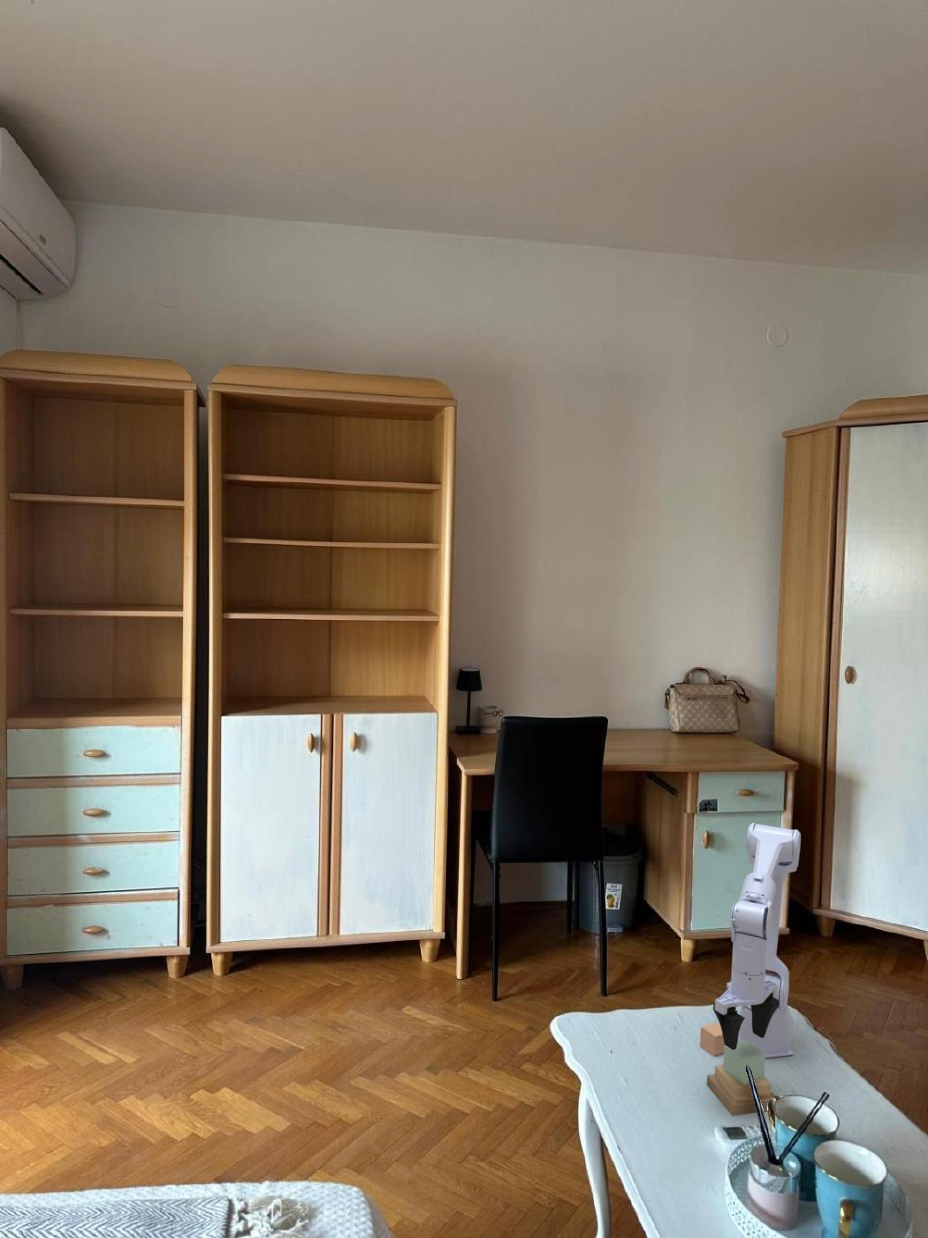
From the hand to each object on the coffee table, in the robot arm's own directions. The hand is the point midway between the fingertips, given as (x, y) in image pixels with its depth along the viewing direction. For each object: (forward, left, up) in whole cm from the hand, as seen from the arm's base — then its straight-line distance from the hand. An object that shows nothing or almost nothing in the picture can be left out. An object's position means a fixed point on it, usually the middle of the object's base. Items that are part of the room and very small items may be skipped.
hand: (744, 1041), depth 155 cm
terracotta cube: (-3, -15, -10) cm, 19 cm away
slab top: (0, 0, -9) cm, 9 cm away
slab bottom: (0, 0, -11) cm, 11 cm away
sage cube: (0, 0, -6) cm, 6 cm away
